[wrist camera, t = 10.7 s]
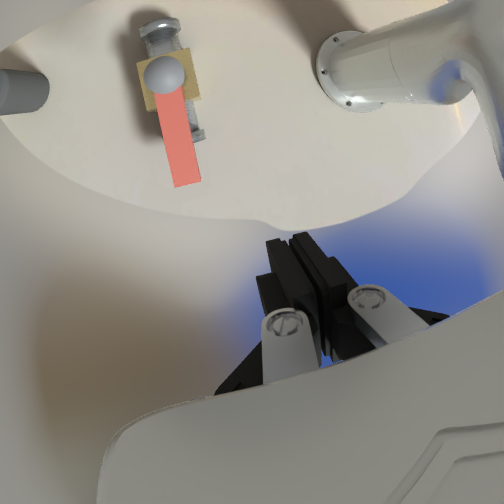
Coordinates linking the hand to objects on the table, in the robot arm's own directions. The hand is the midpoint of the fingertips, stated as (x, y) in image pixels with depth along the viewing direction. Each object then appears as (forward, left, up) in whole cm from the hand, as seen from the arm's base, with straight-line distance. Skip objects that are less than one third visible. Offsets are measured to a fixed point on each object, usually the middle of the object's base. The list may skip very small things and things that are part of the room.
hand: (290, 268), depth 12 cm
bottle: (+25, -19, -29) cm, 43 cm away
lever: (+5, -7, -23) cm, 24 cm away
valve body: (+5, -12, -29) cm, 32 cm away
